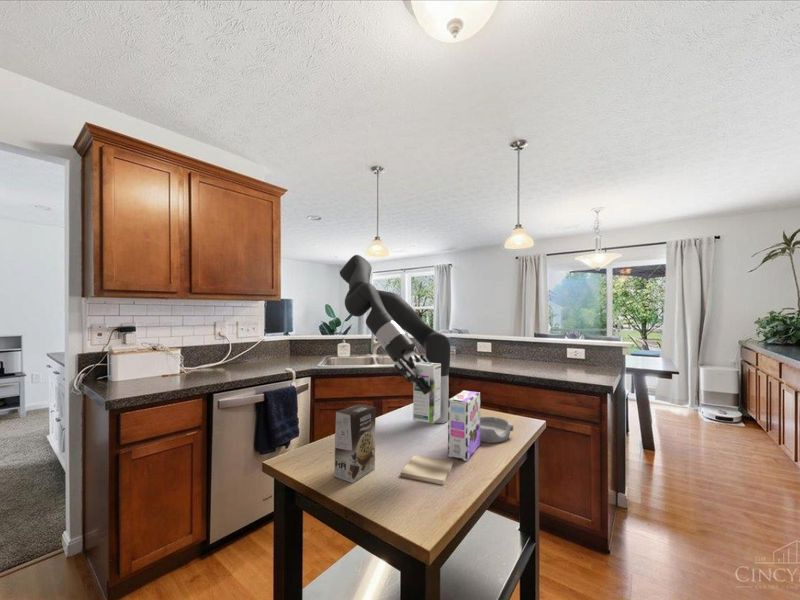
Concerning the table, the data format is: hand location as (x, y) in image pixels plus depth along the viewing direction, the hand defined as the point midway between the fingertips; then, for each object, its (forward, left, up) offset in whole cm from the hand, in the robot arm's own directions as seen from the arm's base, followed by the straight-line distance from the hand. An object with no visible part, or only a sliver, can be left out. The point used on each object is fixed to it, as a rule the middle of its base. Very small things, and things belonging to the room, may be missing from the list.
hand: (433, 389), depth 86 cm
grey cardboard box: (+8, -18, -21) cm, 29 cm away
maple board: (0, -1, -21) cm, 21 cm away
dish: (-31, +11, -21) cm, 39 cm away
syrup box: (0, -2, -8) cm, 8 cm away
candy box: (-16, +6, -21) cm, 27 cm away
